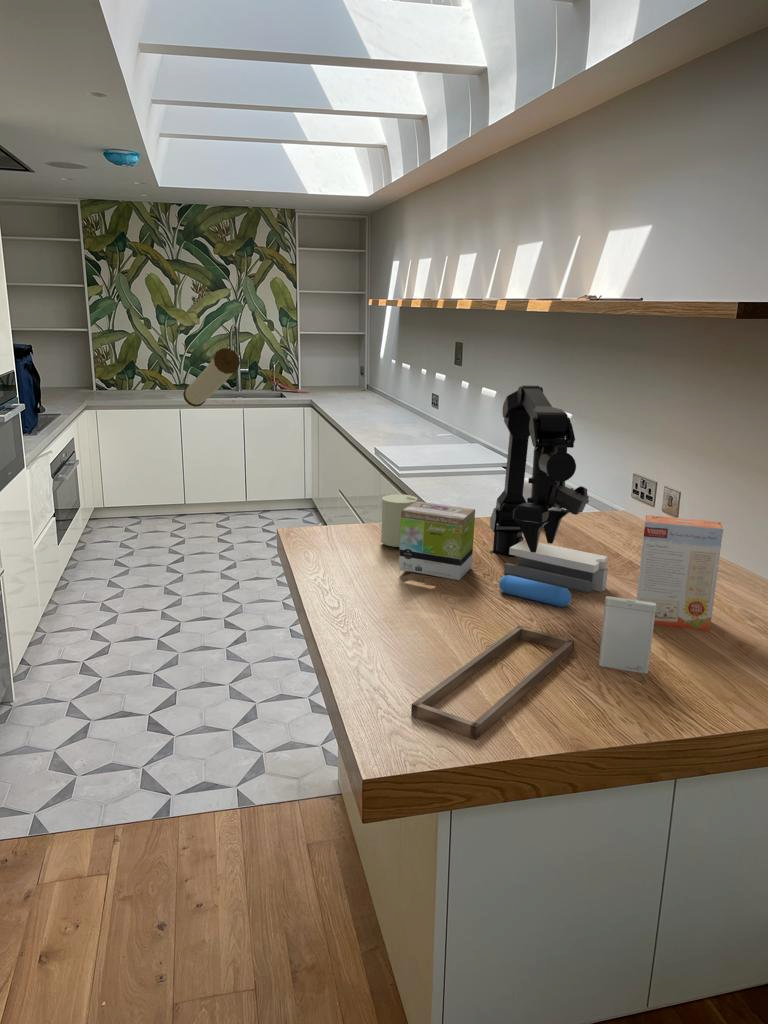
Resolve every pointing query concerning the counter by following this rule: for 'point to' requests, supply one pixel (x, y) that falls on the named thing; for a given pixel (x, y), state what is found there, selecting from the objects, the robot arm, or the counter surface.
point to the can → (393, 517)
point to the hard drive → (627, 634)
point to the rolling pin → (212, 377)
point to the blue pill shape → (535, 590)
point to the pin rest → (460, 725)
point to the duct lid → (561, 556)
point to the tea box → (436, 540)
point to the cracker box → (680, 570)
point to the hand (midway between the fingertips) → (541, 547)
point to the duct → (558, 575)
